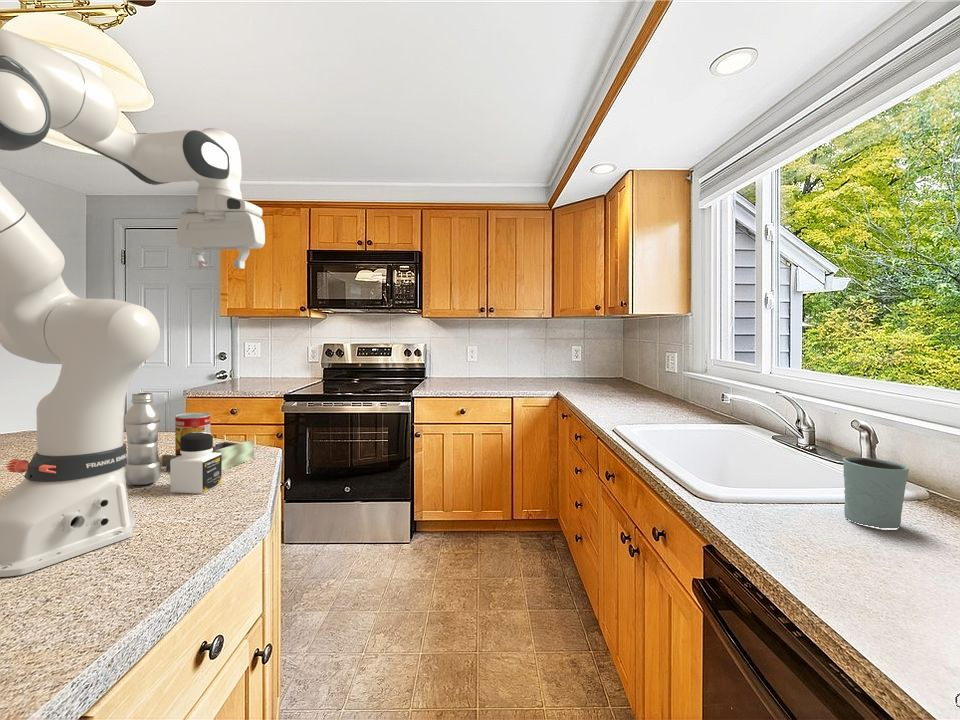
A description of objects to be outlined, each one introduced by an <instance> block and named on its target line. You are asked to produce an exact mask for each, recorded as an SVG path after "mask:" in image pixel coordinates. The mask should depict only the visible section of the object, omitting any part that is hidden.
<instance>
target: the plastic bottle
mask: <svg viewBox="0 0 960 720" xmlns="http://www.w3.org/2000/svg"><path fill="white" fill-rule="evenodd" d="M153 396H154V395H153V393H152V392H135V393H132V395H131V404H132V405H131V407H130V408H128V410H127V411H126V413H124V427H125V432H126V433H125V434H126V441H127V464H126V465H125V480H126V483H127V484H129V485H132V486H143V485H148V484H154V483H156V482H158V481H159V479H160V478H161V473H162V466H161V465H162V464H161V463H160V457H159V450H158V441H159V440H158V439H159V428H160V421H161V415H160V412H159V411H158V410H157V408H156V406H154V405H153V404H152V403H153V402H154V399H153V398H154V397H153Z"/></svg>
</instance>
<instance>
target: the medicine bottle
mask: <svg viewBox="0 0 960 720" xmlns="http://www.w3.org/2000/svg"><path fill="white" fill-rule="evenodd" d="M213 442H214V436H213V434H212V433H211V432H210V433H207V432H194V433H188V434H185V435H183V436H182V437H181V438H180V454H182V455H181V456H179V457H176V458H174V459H171V461H170V471H169V476H170V477H169V478H170V479H169V481H170V485H169V487H170V493H171V494H172V493H173V494H198V495H199V494H201V495H202V494H203V495H204V494H206V493H208V492H209V491H211V490H213V489H215V488H216V487H218V486H220V485H221V484H222V483H223V482H222V478H223V477H222V473H223V471H222V454H221V453H215V452H212V451H213V446H214V443H213Z"/></svg>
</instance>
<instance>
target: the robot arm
mask: <svg viewBox="0 0 960 720" xmlns="http://www.w3.org/2000/svg"><path fill="white" fill-rule="evenodd" d="M118 120H119V105H118V100H117V98H116V96H115V93H114V92H113V90H112V88H111V87H110V85H109V84H108V83H107V82H106V81H105V80H104V79H102V77H100V76H98V75H97V74H96V73H95V72H93V71H92V70H90V69H89V68H87V67H85V66H84V65H82V64H80V63H79V62H77V61H75V60H73V59H71V58H69V57H67V56H65V55H63V54H62V53H60V52H58V51H56V50H55V49H52V48H51V47H48V46H46V45H45V44H44V45H43V43H40V42H37V41H34V40H32V39H30V38H28V37H25V36H23V35H21V34H18V33H16V32H12V31H10V30H8V29H4V28H2V27H0V153H1V152H6V151H10V152H13V151H15V152H16V151H21V150H25V149H28V148H31V147H33V146H36V145H37V144H39V143H41V142H42V141H43V140H44V139H45V138H46V137H47V135H48V134H49V132H50V129H51V130H52V131H55V132H58V133H60V134H63V136H65V137H67V138H68V139H70V140H71V141H73V142H75V143H77V144H78V145H81V146H83V147H85V148H87V149H89V150H91V151H93V152H95V153H97V154H98V155H99V154H100V155H102V156H104V157H105V158H107V159H110V160H111V161H113V162H116V163H117V164H119V165H121V166H122V167H124V168H125V169H127V170H128V171H129V172H130V173H131V174H133V175H134V176H135V177H136V178H138V179H139V180H140V181H142V182H144V183H145V184H148V185H153V186H156V185H157V186H158V185H163V184H165V185H166V184H169V183H180V182H181V183H182V182H193V181H195V182H197V183H198V186H197V207H196V208H186V209H184V210H183V211H182V212H181V213H180V214H179V218H178V219H179V220H178V223H177V232H176V244H177V246H178V248H180V249H183V250H187V251H191V254H192V256H193V257H194V259H195V261H196V268H197V269H198V270H204V271H205V270H208V269H209V261H205V259H204V256H203V255H205V251H214V250H219V251H221V250H237V252H238V253H239V254H238V255H237V256H238V257H237V258H236V259H233V267H234V269H238V270H241V269H242V270H243V269H245V268H246V261H247V259H248V257H249V255H250V252H251V251H250V250H251V249H252V250H253V249H262V248H263V247H264V246H265V244H266V230H265V223H264V221H263V219H262V217H263V212H264V211H263V208H261V207H260V206H258V205H256V204H253V203H251V202H249V201H246V200H244V199H243V195H242V191H241V182H242V176H243V173H242V171H243V169H242V168H243V167H242V156H241V151H240V147H239V142H238V141H237V139H236V138H235V136H233V135H232V134H230V133H229V132H227V131H224V130H222V129H220V128H213V127H207V128H203V129H202V130H196V129H195V130H194V129H182V130H173V131H163V132H162V131H161V132H139V133H132V132H129V131H127V130H125V129H123V128H121V127H120V126H118V125H117V124H118ZM65 262H66V260H65V256H64V254H63V252H62V251H61V249H60V248H59V247H58V246H57V245H56V243H55V242H54V241H53V240H52V239H51V238H50V237H49V235H48V234H47V233H46V232H45V230H43V228H42V227H41V226H40V225H39V224H38V222H37V221H36V220H35V218H33V217H32V215H31V214H30V213H29V211H28V210H27V209H26V208H25V207H24V206H23V205H22V204H21V202H19V200H17V198H16V197H15V196H14V195H13V194H12V193H11V192H10V191H9V190H8V188H6V187H5V186H4V185H3V184H2V182H1V181H0V345H1V346H2V347H3V349H4V350H6V351H7V352H9V353H10V354H11V355H14V356H16V357H20V358H23V359H26V360H29V361H33V362H36V363H39V364H47V365H49V364H50V365H61V369H60V373H59V376H58V379H57V382H56V384H55V385H54V387H53V389H52V390H51V391H50V392H49V393H48V394H46V395H45V396H43V397H42V398H41V399H40V400H39V402H38V403H37V406H36V411H35V412H36V446H37V447H36V449H37V450H36V451H35V452H34V454H33V455H32V457H31V459H30V462H29V461H28V460H26V459H20V458H12V459H10V460H9V461H8V463H6V466H5V468H6V471H8V472H9V473H18V474H22V473H24V475H23V477H24V479H23V480H22V481H21V482H20V483H19V484H17V485H16V486H15V487H13V489H12V490H10V491H9V492H8V493H7V494H5V495H4V496H3V497H2V498H1V499H0V578H3V577H15V576H22V575H25V574H28V573H31V572H34V571H37V570H39V569H43V568H46V567H49V566H52V565H55V564H57V563H61V562H63V561H66V560H69V559H71V558H74V557H77V556H80V555H82V554H83V555H84V554H86V553H89V552H92V551H94V550H97V549H101V548H103V547H106V546H109V545H112V544H114V543H115V544H116V543H118V542H120V541H124V540H126V539H129V538H131V537H132V536H134V531H133V528H134V527H135V525H136V523H137V521H136V517H135V515H134V513H133V510H132V507H131V502H130V500H129V494H128V488H127V481H126V478H125V468H126V464H127V454H128V449H127V444H126V443H125V442H124V425H125V423H124V417H125V402H126V396H127V394H128V389H129V386H130V384H131V381H132V379H133V378H134V376H135V373H136V372H137V370H138V369H139V368H140V366H141V365H142V364H143V363H144V362H145V361H147V360H148V359H149V358H150V357H152V356H153V355H154V354H155V352H156V350H157V349H158V346H159V344H160V341H161V328H160V325H159V322H158V319H157V318H156V317H155V315H154V314H153V312H152V311H150V310H149V309H147V308H146V307H144V306H141V305H139V304H136V303H133V302H128V301H124V300H120V299H115V298H82V297H79V296H77V295H75V294H74V293H73V292H72V291H70V289H69V288H68V286H67V285H66V283H65V281H64V279H63V277H62V273H63V271H64V269H65V265H66V263H65Z"/></svg>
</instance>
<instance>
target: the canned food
mask: <svg viewBox="0 0 960 720" xmlns="http://www.w3.org/2000/svg"><path fill="white" fill-rule="evenodd" d="M174 420H175V422H174V424H175V425H174V426H175V427H174V429H175V430H174V432H175V435H174V438H175V439H174V442H175V448H174V449H175V455H176V456H177V455H182V454H180V438H181V437H182V436H183V435H185V434H188V433H194V432H207V433H210V434H211V413H208V412H187V413H180V414H176V415H175V418H174Z"/></svg>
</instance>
